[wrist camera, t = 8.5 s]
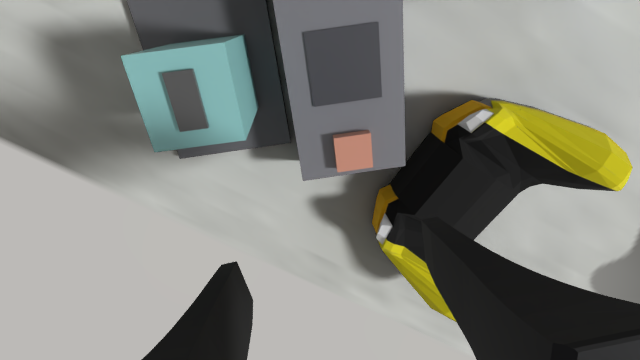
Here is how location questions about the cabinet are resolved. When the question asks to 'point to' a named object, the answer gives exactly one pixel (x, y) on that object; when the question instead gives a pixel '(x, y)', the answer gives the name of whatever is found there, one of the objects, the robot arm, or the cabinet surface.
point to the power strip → (344, 83)
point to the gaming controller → (485, 176)
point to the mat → (214, 22)
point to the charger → (194, 92)
